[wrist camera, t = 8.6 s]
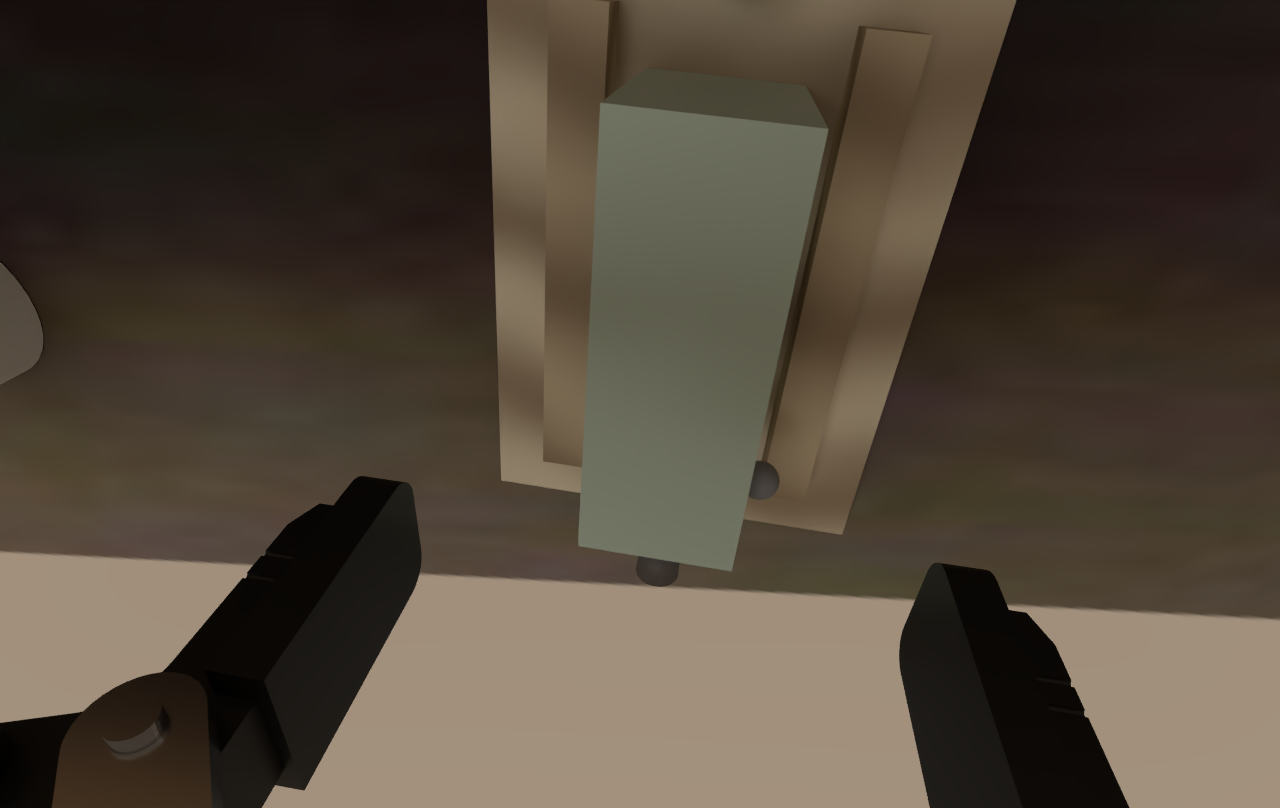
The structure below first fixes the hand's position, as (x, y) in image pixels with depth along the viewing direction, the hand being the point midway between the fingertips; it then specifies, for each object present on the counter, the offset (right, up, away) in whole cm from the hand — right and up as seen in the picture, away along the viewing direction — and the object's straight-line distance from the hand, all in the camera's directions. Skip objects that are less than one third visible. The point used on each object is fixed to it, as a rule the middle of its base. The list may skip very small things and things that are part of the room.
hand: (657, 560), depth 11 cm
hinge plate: (+2, +7, +13) cm, 15 cm away
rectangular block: (+2, +7, +12) cm, 14 cm away
